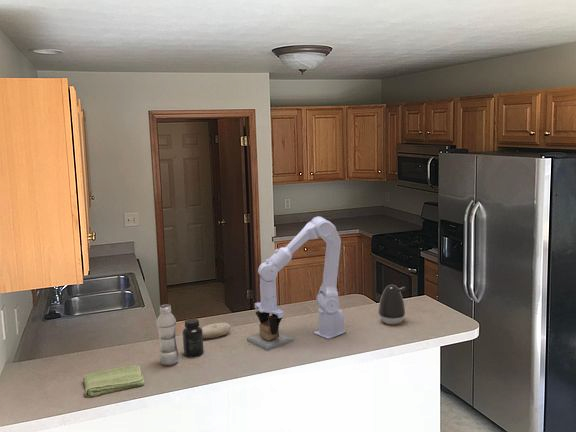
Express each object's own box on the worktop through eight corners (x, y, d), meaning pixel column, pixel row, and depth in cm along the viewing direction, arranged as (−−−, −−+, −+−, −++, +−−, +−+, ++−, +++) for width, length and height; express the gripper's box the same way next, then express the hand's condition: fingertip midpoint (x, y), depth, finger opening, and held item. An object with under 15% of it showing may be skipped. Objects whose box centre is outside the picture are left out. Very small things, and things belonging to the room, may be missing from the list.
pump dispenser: (408, 326, 207) (408, 288, 204) (380, 327, 207) (380, 289, 204) (402, 317, 217) (403, 280, 214) (376, 317, 217) (376, 281, 214)
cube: (270, 333, 200) (270, 320, 199) (279, 336, 196) (278, 323, 196) (260, 336, 197) (259, 323, 196) (268, 340, 193) (267, 327, 193)
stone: (235, 327, 204) (208, 327, 196) (228, 341, 205) (202, 341, 198) (227, 319, 208) (201, 318, 200) (221, 332, 210) (195, 332, 202)
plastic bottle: (162, 369, 177) (158, 311, 174) (157, 361, 183) (152, 305, 179) (181, 364, 180) (177, 307, 176) (175, 357, 186) (172, 301, 182)
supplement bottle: (184, 350, 192) (182, 318, 189) (204, 348, 192) (202, 316, 190) (182, 358, 185) (180, 325, 183) (203, 357, 185) (201, 323, 183)
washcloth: (146, 387, 166) (145, 377, 166) (85, 400, 159) (84, 390, 159) (139, 370, 178) (139, 360, 177) (82, 381, 171) (81, 372, 170)
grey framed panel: (272, 332, 206) (272, 329, 205) (293, 341, 197) (293, 338, 196) (247, 340, 198) (246, 337, 198) (267, 350, 189) (267, 347, 189)
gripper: (247, 293, 197) (249, 329, 200) (272, 303, 186) (273, 340, 189) (262, 289, 202) (264, 324, 204) (287, 298, 191) (288, 334, 193)
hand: (269, 331), depth 197 cm, fingers closed on cube, 5 cm apart
